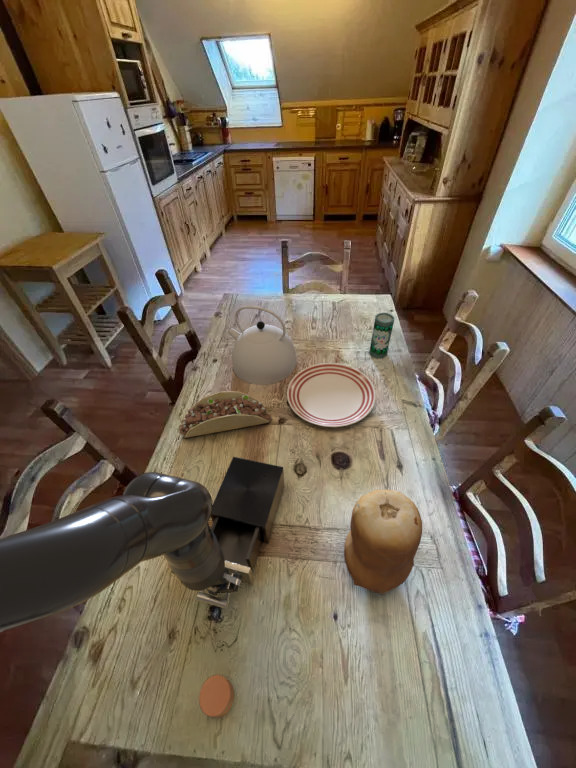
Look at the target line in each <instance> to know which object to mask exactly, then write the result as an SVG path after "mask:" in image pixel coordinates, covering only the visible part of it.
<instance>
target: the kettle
mask: <svg viewBox="0 0 576 768" xmlns="http://www.w3.org/2000/svg"><path fill="white" fill-rule="evenodd" d="M246 309H249V310H250V309H251V310H258V311H262V312H263V311H264V312H266V313H268V314H271V315H272V316H273V317H274V318H276V319H277V320H278V321H279V322H280V324H281V327H282V329H281V328H280V327H277V326H275V325H273V324H272V325H271V324H267V323H266V324H265V322H263V321H262V320H260V321H259V320H258V321H257V323H256V325H253V326H250V327H248V328H246V329H245V330H243V328H242V326H241V325H240V323H239V319H238V314H239V312H240V311H242V310H246ZM234 320H235V323H236V326H237V328H238V329H239V331H240V332H239V331H238V330H236V329H234V327H230V328H228V329H226V332H227V334H229V335H230V336H231V338H233V339H234V340H235V341H234V343H233V346H232V351H231V363H232V369H233V372H234V373H235V375H236V376H237V378H239V379H240V380H241V381H243V382H246V383H248V384H252V385H259V386H260V385H262V386H263V385H271V384H272V385H273V384H275V383H279V382H281V381H284V380H285V379H287V378H288V377H290V376H291V375H292V373H293V372H294V371H295V369H296V367H297V354H296V348H295V345H294V343H293V341H292V339H291V337H290V336H289V335H288V334H287V333H286V331H287V330H286V325H285V323H284V321H283V319H282V318H281V317H280V316H279V315H278V314H277V313H275V312H274V311H272V310H271V309H268V308H264V307H261V306H255V305H244V306H240V307H239V308H237V309H236V311H235V313H234Z"/></svg>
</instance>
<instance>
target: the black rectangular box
mask: <svg viewBox="0 0 576 768" xmlns="http://www.w3.org/2000/svg"><path fill="white" fill-rule="evenodd" d="M284 471H285V470H284V466H280V465H275V464H271V463H265V462H260V461H256V460H252V459H246V458H242V457H236V456H233V457H232V459H231V460H230V464H229V466H228V468H227V471H226V473H225V475H224V476H223V479H222V482H221V484H220V486H219V489H218V491H217V493H216V496H215V498H214V500H213V502H212V512H211V516H210V519H211V522H212V523H213V522H214V519H215V517H220V518H225V519H229V520H233V521H237V522H241V523H245V524H249V525H253V526H257V527H261V528H262V531H263V540H262V543H263V544H266V545H269V543H270V539H271V536H272V532H273V529H274V525H275V523H276V519H277V514H278V511H279V507H280V504H281V501H282V497H283V494H284V491H285V488H286V487H285V473H284ZM262 543H261V544H262Z"/></svg>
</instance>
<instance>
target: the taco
mask: <svg viewBox="0 0 576 768" xmlns="http://www.w3.org/2000/svg"><path fill="white" fill-rule="evenodd" d="M271 421H272V415H271V414H270V413H269V412H268V410H267V408H266V406H265V405H264V404H263V403H262V401H260V400H259V399H258V398H256V397H255V396H252V395H250V394H247V393H244V392H241V391H218V392H216V393H212V394H210V395H206V396H204V397H203V398H201V399H200V400H199V401H198V402H197V403H195V404H194V405H193V406H191V408H189V409H187V413H186V414H185V415H184V419H183V420H180V422H181V424H180V425H179V426H178V430H179V431H178V432H179V436H180V437H181V438H182V437H183V438H184V439H186V438H191V437H199V436H203V435H208V434H214V433H219V432H225V431H231V430H235V429H236V430H237V429H241V428H247V427H253V426H257V425H263V424H268V423H270V422H271Z"/></svg>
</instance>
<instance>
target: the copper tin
mask: <svg viewBox="0 0 576 768" xmlns="http://www.w3.org/2000/svg"><path fill="white" fill-rule="evenodd" d="M234 701H235V689H234V686H233V683H232V682H231V681H230V680H229V679H227V678H226V677H225V676H223V675H221V674H215V675H211V676H209V677H207V678H206V680H204V682H203V684H202V685H201V688H200V690H199V695H198V702H199V707H200V709H201V711H202V713H203V714H205V715H206V716H208V717H211V718H222V717H224V716H226V715H227V714H228V713H229V712H230V710H232V707H233V705H234Z"/></svg>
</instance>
